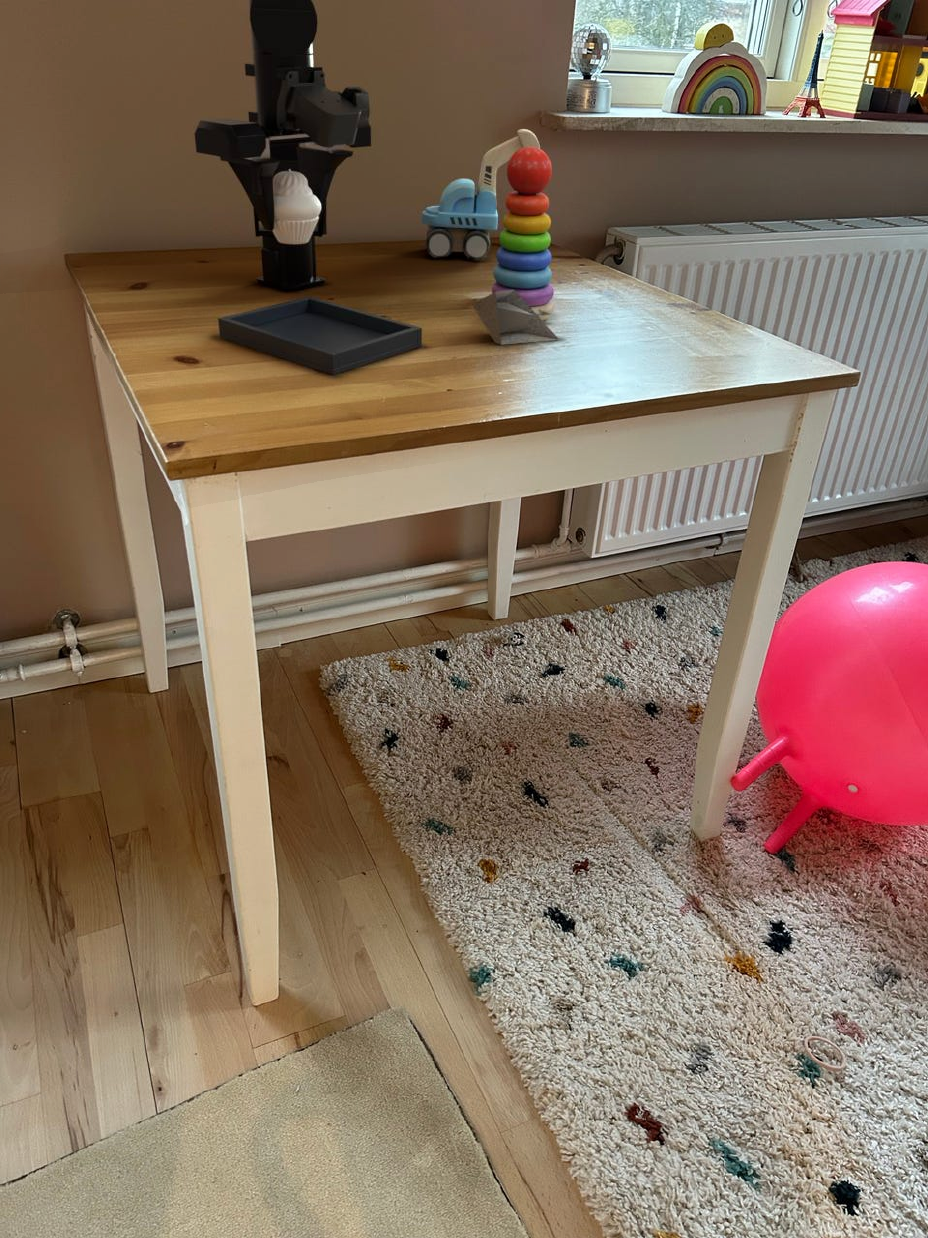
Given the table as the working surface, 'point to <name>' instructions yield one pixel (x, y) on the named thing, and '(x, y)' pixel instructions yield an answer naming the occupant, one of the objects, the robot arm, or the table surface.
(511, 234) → the stacking toy
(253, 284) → the table surface
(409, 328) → the tray
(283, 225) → the muffin
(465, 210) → the toy excavator
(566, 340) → the table surface
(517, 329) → the paper boat
